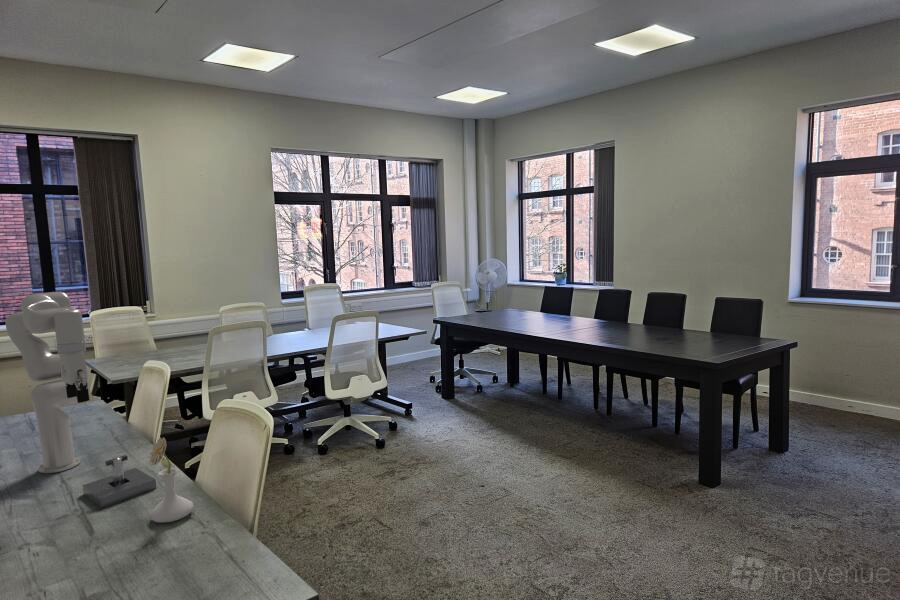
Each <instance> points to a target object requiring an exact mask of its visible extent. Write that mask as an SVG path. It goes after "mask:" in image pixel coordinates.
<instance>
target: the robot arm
mask: <svg viewBox="0 0 900 600" xmlns="http://www.w3.org/2000/svg"><path fill="white" fill-rule="evenodd" d="M19 307H20V310H21V311H18V312H15V313H12V314H9V315H8V316H7V317H6V318H5V328H6V332H7V335H8V337H9V339H10V340H11V341H12V343H13V344H14V346H15V347H16V348H17V349H18V351H19V352H20V354H21V358H22V361H23V364H24V367H25V369H26V373H27V375H28V377H29V379H30V381H32V383H35V384H36V383H37V384H38V385H36V386H34V387H33V388H32V389H31V391H30V395H29V396H30V401H31V404H32V406H33V407H32V408H33V409H34V414H35V418H36V422H37V428H38V429H37V430H38V437H39V445H40V451H41V459H42V464H41V465H40V466H39V467H38V469H37V470H38V472H39V473H40V474H53V473H55V474H56V473H60V472H64V471H67V470H70V469H72V468H75V467H76V466H78V465H79V464H80V463H81V458H80V457H78V456H76V455H75V449H74V442H73V440H74V439H73V434H72V428H71V425H72V424H71V418H70V417H69V414H68V413H66V412H65V411H64V410H62V409H60V408H62V407H66V406H69V405H73V404H79V403H84V402H88V401H90V395H91V394H90V393H91V392H90V386H89V383H88V380H89V378H88V370H87V363H86V357H85V352H86V351H87V346H86V338H85V337H86V336H85V329H84V323H83V313H82V312H81V310H79V309H77V308H75V307H72V302H71V299H70V297H69V295H67V294H66V293H65V292H62V291H51V292H39V293H33V294H32V293H31V294H29V295H25V296H24V297H23V298H22V299H21V301H20V306H19ZM54 332H55V340H56V348H57V353H56V354H54V353H52V352H51V349H50V346H49V344H48V343H47V342H46V341H45V340H43V338H40V337H39V336H36V335H34V334H37V335H38V334H39V335H40V334H42V335H43V334H47V333H54ZM40 383H41V384H40Z"/></svg>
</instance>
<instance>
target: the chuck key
mask: <svg viewBox="0 0 900 600" xmlns="http://www.w3.org/2000/svg"><path fill="white" fill-rule="evenodd" d="M128 459H129V458H128V455H126V454H124V455H121V456H117V457H113V458H111V459H108V460H104V461H105V462H104V463H105V466H107V467H110V466H111V471H112V475H113V481H114V487H116V486H118V485H121V484H124V483H125V481H124V473H123V472H124V465H123V462H125V461H127V460H128Z"/></svg>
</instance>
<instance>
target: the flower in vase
mask: <svg viewBox="0 0 900 600" xmlns="http://www.w3.org/2000/svg"><path fill="white" fill-rule="evenodd" d="M156 441H157V442H153V446H152V451H150V453H149V456H150V458H149V462H148V464H149V463H150V465H151V467H153V466H155V465H158V464H159V463H161V465H162V466H163V467H165V469H162V470H161V471H159V472H158V476H159V477H160V478H161V479H162V480H163V483H164V487H165V496H164V498H163V499H162V500H161V501H160V502H159V503H158V504H157V505H156V506H155V507H154V508H153V509H152V511H151V512H150V519H151V520H152V521H153V522H155V523H160V524H161V523H171V522H176V521H178V520H182V519H183V518H185V517H186V516H189V515H190V514H191V513H192V511H193V510H194V507H195V505H194V503H193V501H191V500H189V499H187V498H186V497H183V496H180V495H178V494H177V493H176V490H175V476H176V474H177V472H178V471H179V469H178V468H176V467H172V463H171V462H170V459H169V458H168V456H167V455H166V454H165V453H166V450H167V445H168V444H167V440H166V438H165V437H159V438H158V439H157V440H156Z"/></svg>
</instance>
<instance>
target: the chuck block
mask: <svg viewBox="0 0 900 600" xmlns="http://www.w3.org/2000/svg"><path fill="white" fill-rule="evenodd" d="M123 473H124V481H125V483H124V484H121V485H118V486H116V487H114V481H113V474H112V475H109V476H106V477H103V478H100V479H97V480H95V481H91V482H88V483H86V484H82V492H83V493H82V494H83V495H84V496H85V497H87V498H88V499H89V500H90V501H92V502H94V503H95V504H96V505H97V506H99V507H100V508H101V509H102V508H105V507H108V506H111V505H115V504H116V503H120V502H123V501H126V500H128V499H130V498H132V497H135V496H139V495H140V494H144V493H146V491H147V492H149V491H152V490H155V489H156V488H157V480H156V478H154V477H153V476H151V475H149V474H147V473H146V472H144V471H142V470H140V469H139V468H137V467H134V468H131V469H127V470H123ZM154 488H155V489H154Z"/></svg>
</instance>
